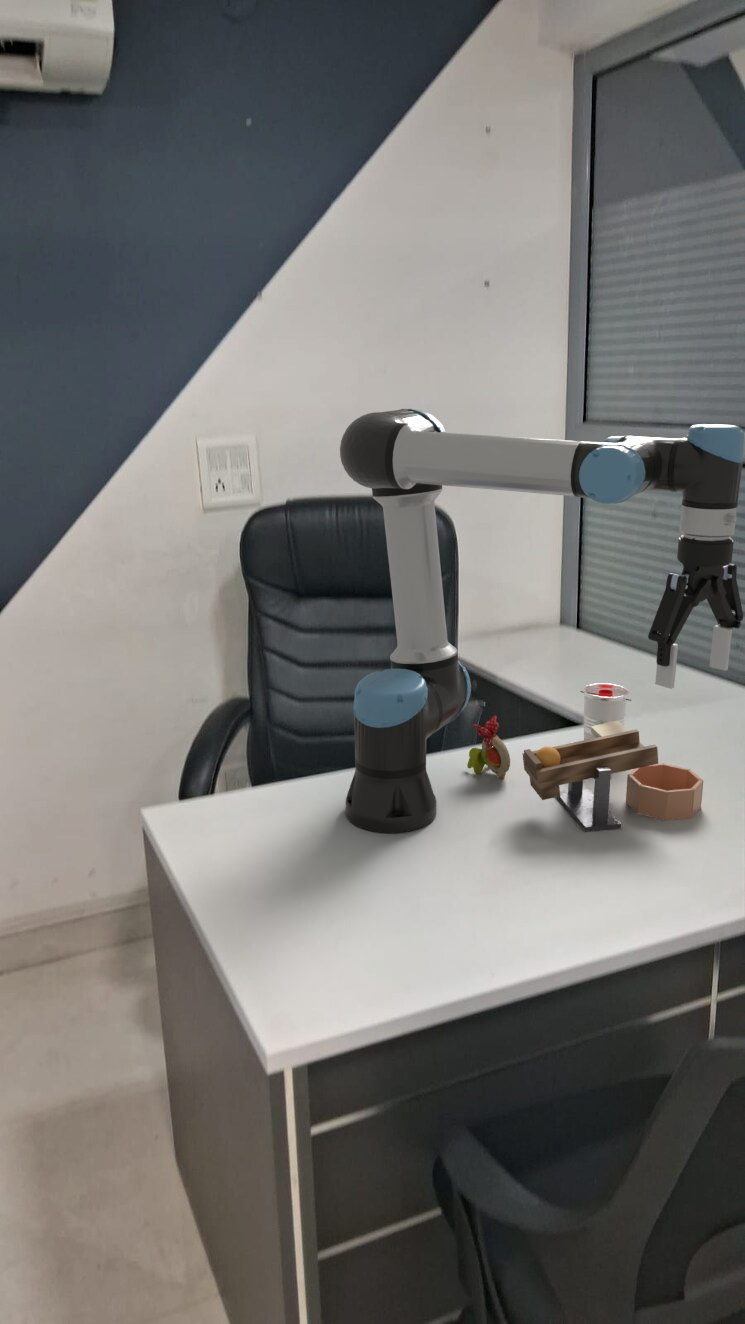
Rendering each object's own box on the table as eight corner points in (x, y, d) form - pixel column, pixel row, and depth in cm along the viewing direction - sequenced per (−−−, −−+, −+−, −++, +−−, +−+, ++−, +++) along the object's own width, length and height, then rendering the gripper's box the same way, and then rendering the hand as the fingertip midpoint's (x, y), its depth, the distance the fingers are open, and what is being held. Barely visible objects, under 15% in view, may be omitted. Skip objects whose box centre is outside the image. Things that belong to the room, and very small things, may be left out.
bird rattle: (513, 783, 181) (483, 751, 186) (532, 739, 174) (500, 707, 180) (487, 792, 177) (458, 759, 183) (506, 747, 171) (474, 714, 176)
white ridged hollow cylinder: (634, 747, 192) (638, 688, 188) (620, 761, 185) (624, 701, 181) (585, 737, 197) (588, 680, 193) (569, 751, 190) (572, 692, 186)
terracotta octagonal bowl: (618, 808, 165) (620, 781, 164) (642, 785, 174) (644, 759, 173) (685, 825, 159) (687, 797, 158) (707, 800, 168) (709, 773, 167)
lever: (542, 804, 158) (538, 767, 156) (511, 764, 173) (507, 730, 171) (660, 778, 160) (658, 742, 158) (619, 741, 176) (616, 708, 174)
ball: (534, 775, 161) (528, 753, 160) (544, 763, 164) (539, 741, 163) (556, 776, 158) (551, 754, 157) (566, 764, 161) (561, 742, 160)
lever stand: (585, 831, 158) (588, 773, 155) (555, 795, 171) (557, 741, 168) (621, 828, 158) (625, 770, 156) (588, 792, 172) (591, 738, 169)
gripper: (676, 549, 131) (662, 700, 137) (778, 529, 146) (761, 667, 152) (630, 541, 137) (618, 687, 143) (732, 523, 152) (718, 656, 158)
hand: (692, 677), depth 148 cm, fingers open, 13 cm apart
